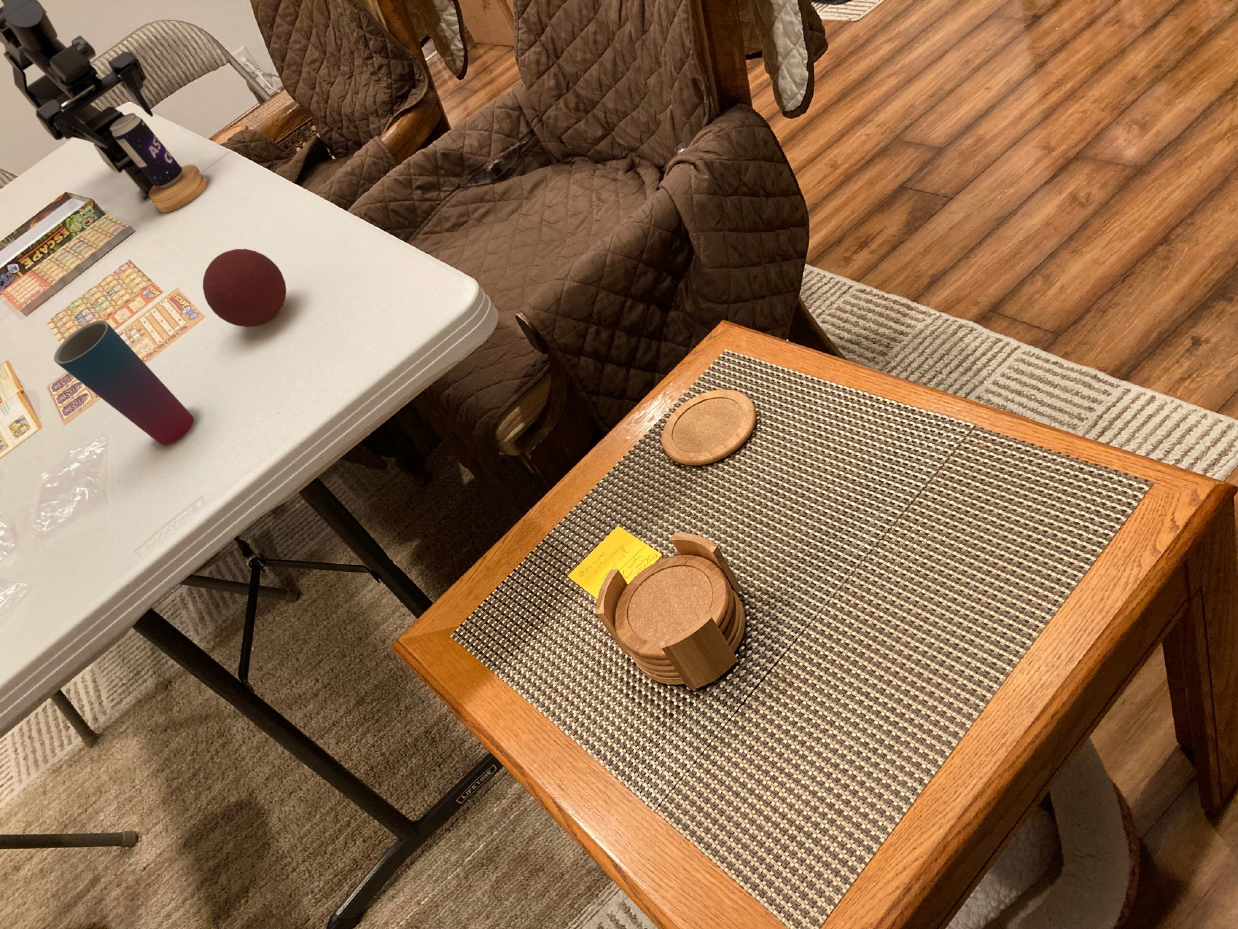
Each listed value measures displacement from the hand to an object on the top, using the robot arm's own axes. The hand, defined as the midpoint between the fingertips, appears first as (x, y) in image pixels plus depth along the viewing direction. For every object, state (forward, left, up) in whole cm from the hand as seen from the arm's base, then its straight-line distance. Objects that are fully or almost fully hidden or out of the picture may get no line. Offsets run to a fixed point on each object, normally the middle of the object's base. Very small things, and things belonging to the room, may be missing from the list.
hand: (130, 130), depth 147 cm
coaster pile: (-3, 0, -14) cm, 14 cm away
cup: (+69, -11, -14) cm, 72 cm away
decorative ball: (+57, +5, -14) cm, 59 cm away
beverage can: (-3, 0, -11) cm, 11 cm away
